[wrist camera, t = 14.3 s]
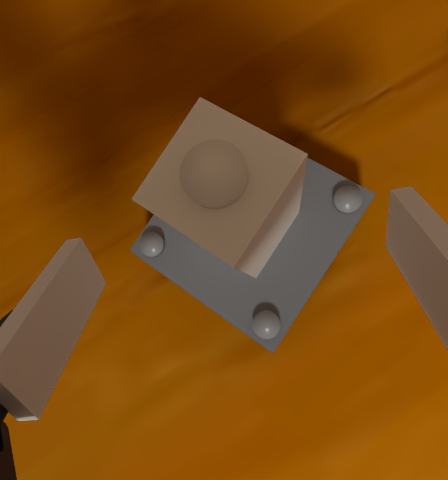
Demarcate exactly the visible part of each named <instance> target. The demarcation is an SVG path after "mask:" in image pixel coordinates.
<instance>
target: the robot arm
mask: <svg viewBox="0 0 448 480" xmlns="http://www.w3.org/2000/svg"><path fill="white" fill-rule="evenodd" d="M386 248H387V249H388V251H389V253H390V254H391V256H392V258H393V259H394V261H395V263H396V264H397V266H398V268H399V270H400V271H401V273H402V275H403V276H404V278H405V280H406V281H407V283H408V285H409V286H410V288H411V290H412V291H413V293H414V295H415V296H416V298H417V300H418V301H419V303H420V305H421V306H422V308H423V310H424V311H425V313H426V315H427V316H428V318H429V320H430V321H431V323H432V325H433V326H434V328H435V330H436V332H437V333H438V335H439V337H440V338H441V340H442V342H443V343H444V345H445V347H446V348H447V350H448V225H447V223H446V222H445V221H444V220H443V219H442V218H441V217H440V216H439V215H438V214H437V213H436V212H435V211H434V210H433V209H432V207H431V206H430V205H429V204H428V203H427V202H426V201H425V200H424V199H423V198H422V197H421V196H420V195H419V194H418V193H417V192H416V190H415V189H414V188H413V187H412V186H411V187H405V188H398V189H392V190H391V191H390V202H389V213H388V225H387V236H386ZM105 284H106V281H105V280H104V278H103V276H102V274H101V272H100V270H99V269H98V267H97V265H96V263H95V261H94V260H93V258H92V256H91V254H90V252H89V250H88V249H87V247H86V245H85V243H84V241H83V240H82V238H76V239H69V240H66V241H65V242H64V243H63V245H62V246H61V247H60V249H59V250H58V251H57V253H56V254H55V255H54V257H53V258H52V259H51V261H50V262H49V263H48V265H47V266H46V267H45V269H44V270H43V271H42V272H41V274H40V275H39V276H38V278H37V279H36V280H35V282H34V283H33V284H32V286H31V287H30V288H29V290H28V291H27V292H26V294H25V295H24V296H23V298H22V299H21V300H20V302H19V303H18V304H17V306H16V307H15V308H14V310H12V311H10V312H9V313H8V314H7V315H6V316H5V317H3V318H2V319H1V320H0V480H17V478H16V472H15V466H14V460H13V454H12V448H11V442H10V436H9V430H8V427H7V425H6V423H4V422H3V420H4V418H5V416H6V415H7V413H8V412H9V413H10V414H11V415H12V416H13V417H15V418H16V419H17V420H18V421H26V420H39V418H40V416H41V414H42V412H43V410H44V408H45V406H46V404H47V402H48V400H49V398H50V396H51V394H52V392H53V390H54V388H55V386H56V384H57V382H58V380H59V378H60V376H61V374H62V372H63V369H64V367H65V365H66V363H67V361H68V359H69V357H70V355H71V353H72V351H73V349H74V347H75V345H76V343H77V341H78V339H79V337H80V335H81V333H82V331H83V329H84V327H85V325H86V323H87V321H88V319H89V317H90V315H91V313H92V310H93V308H94V306H95V304H96V302H97V300H98V298H99V296H100V294H101V292H102V290H103V288H104V286H105Z"/></svg>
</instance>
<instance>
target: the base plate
mask: <svg viewBox="0 0 448 480" xmlns="http://www.w3.org/2000/svg"><path fill="white" fill-rule="evenodd" d="M375 195H376V194H375V193H373V192H371V191H369V190H367V189H366V188H364V187H362V186H360V185H358V184H356V183H354V182H352V181H351V180H349V179H347V178H345V177H343V176H341V175H339V174H338V173H336V172H334V171H332V170H330V169H328V168H326V167H324V166H323V165H321V164H319V163H317V162H315V161H313V160H311V159H310V158H308V157H307V163H306V169H305V176H304V182H303V189H302V195H301V202H300V208H299V213H298V215H297V216H296V218H295V220H294V221H293V223H292V224H291V226H290V227H289V229H288V230H287V232H286V233H285V235H284V236H283V238H282V240H281V241H280V243H279V244H278V246H277V247H276V249H275V250H274V252H273V253H272V255H271V256H270V258H269V260H268V261H267V263H266V264H265V266H264V267H263V269H262V270H261V272H260V273H259V275H258V276H257V278H254V277H252V276H250V275H248V274H246V273H244V272H242V271H240V270H238V269H236V268H234V267H233V266H231V265H229V264H228V263H226V262H225V261H223V260H222V259H220V258H219V257H217V256H216V255H214V254H213V253H211V252H210V251H208V250H207V249H205V248H204V247H202V246H201V245H199V244H198V243H196V242H195V241H193V240H192V239H190V238H189V237H187V236H186V235H184V234H183V233H181V232H180V231H178V230H177V229H175V228H174V227H172V226H171V225H169V224H168V223H166V222H165V221H163V220H162V219H160V218H159V217H157V216H156V215H153V216H152V218H151V219H150V221H149V222H148V224H147V225H146V227H145V228H144V230H143V231H142V233H141V234H140V236H139V237H138V239H137V240H136V242H135V243H134V245H133V246H132V248H131V249H130V251H131V252H132V253H134V254H135V255H137V256H138V257H139V258H141V259H142V260H144V261H145V262H146V263H148V264H149V265H151V266H152V267H153V268H155V269H156V270H157V271H159V272H160V273H162V274H163V275H164V276H166V277H167V278H169V279H170V280H171V281H173V282H174V283H176V284H177V285H178V286H180V287H181V288H183V289H184V290H185V291H187V292H188V293H189V294H191V295H192V296H194V297H195V298H196V299H198V300H199V301H201V302H202V303H203V304H205V305H206V306H208V307H209V308H210V309H212V310H213V311H214V312H216V313H217V314H219V315H220V316H221V317H223V318H224V319H226V320H227V321H228V322H230V323H231V324H233V325H234V326H235V327H237V328H238V329H240V330H241V331H242V332H244V333H245V334H246V335H248V336H249V337H251V338H252V339H253V340H255V341H256V342H258V343H259V344H260V345H262V346H263V347H265V348H266V349H267V350H269V351H270V352H271V353H274V351H275V349H276V348H277V346H278V345H279V343H280V342H281V340H282V339H283V337H284V336H285V334H286V332H287V331H288V329H289V328H290V326H291V325H292V323H293V322H294V320H295V319H296V317H297V315H298V314H299V312H300V311H301V309H302V308H303V306H304V305H305V303H306V302H307V300H308V298H309V297H310V295H311V294H312V292H313V291H314V289H315V288H316V286H317V285H318V283H319V281H320V280H321V278H322V277H323V275H324V274H325V272H326V271H327V269H328V267H329V266H330V264H331V263H332V261H333V260H334V258H335V257H336V255H337V254H338V252H339V250H340V249H341V247H342V246H343V244H344V243H345V241H346V240H347V238H348V237H349V235H350V233H351V232H352V230H353V229H354V227H355V226H356V224H357V223H358V221H359V220H360V218H361V216H362V215H363V213H364V212H365V210H366V209H367V207H368V206H369V204H370V203H371V201H372V199H373V198H374V196H375Z"/></svg>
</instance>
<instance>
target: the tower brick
mask: <svg viewBox="0 0 448 480" xmlns="http://www.w3.org/2000/svg"><path fill="white" fill-rule="evenodd" d="M307 156H308V154H307V153H305V152H303V151H301V150H299V149H298V148H296V147H294V146H292V145H290V144H288V143H286V142H284V141H282V140H281V139H279V138H277V137H275V136H273V135H271V134H269V133H267V132H265V131H263V130H262V129H260V128H258V127H256V126H254V125H252V124H250V123H248V122H246V121H245V120H243V119H241V118H239V117H237V116H235V115H233V114H231V113H229V112H228V111H226V110H224V109H222V108H220V107H218V106H216V105H214V104H212V103H211V102H209V101H207V100H205V99H203V98H201V97H199V99H198V100H197V102H196V103H195V105H194V106H193V108H192V109H191V111H190V112H189V114H188V115H187V117H186V118H185V120H184V121H183V123H182V124H181V126H180V127H179V129H178V130H177V132H176V133H175V135H174V136H173V138H172V139H171V141H170V142H169V144H168V145H167V147H166V148H165V150H164V151H163V153H162V154H161V156H160V157H159V159H158V160H157V162H156V163H155V165H154V166H153V168H152V169H151V171H150V172H149V174H148V175H147V176H146V178H145V179H144V181H143V182H142V184H141V185H140V187H139V188H138V190H137V191H136V193H135V194H134V196H133V197H132V200H133V201H135V202H136V203H138V204H139V205H141V206H142V207H144V208H145V209H147V210H148V211H150V212H151V213H153V214H154V215H156V216H157V217H159V218H160V219H162V220H163V221H165V222H166V223H168V224H169V225H171V226H172V227H174V228H175V229H177V230H178V231H180V232H181V233H183V234H184V235H186V236H187V237H189V238H190V239H192V240H193V241H195V242H196V243H198V244H199V245H201V246H202V247H204V248H205V249H207V250H208V251H210V252H211V253H213V254H214V255H216V256H217V257H219V258H220V259H222V260H223V261H225V262H226V263H228V264H229V265H231V266H233V267H234V268H236V269H238V270H240V271H242V272H244V273H246V274H248V275H250V276H252V277H254V278H257V276H258V275H259V273H260V272H261V270H262V269H263V267H264V266H265V264H266V263H267V261H268V260H269V258H270V256H271V255H272V253H273V252H274V250H275V249H276V247H277V246H278V244H279V243H280V241H281V240H282V238H283V236H284V235H285V233H286V232H287V230H288V229H289V227H290V226H291V224H292V223H293V221H294V220H295V218H296V216H297V215H298V213H299V208H300V202H301V195H302V189H303V182H304V176H305V169H306V163H307Z"/></svg>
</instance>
